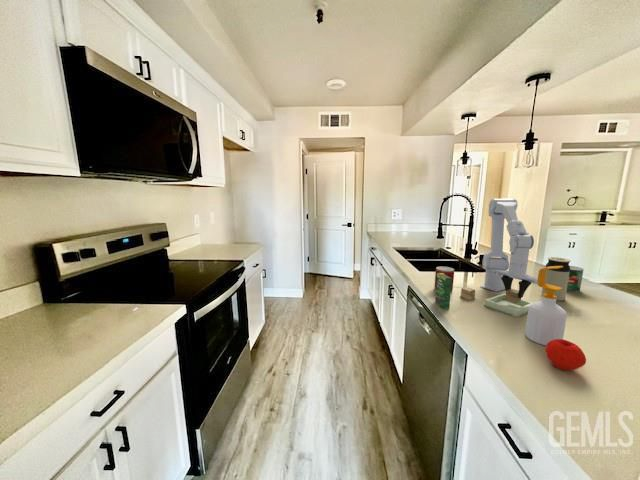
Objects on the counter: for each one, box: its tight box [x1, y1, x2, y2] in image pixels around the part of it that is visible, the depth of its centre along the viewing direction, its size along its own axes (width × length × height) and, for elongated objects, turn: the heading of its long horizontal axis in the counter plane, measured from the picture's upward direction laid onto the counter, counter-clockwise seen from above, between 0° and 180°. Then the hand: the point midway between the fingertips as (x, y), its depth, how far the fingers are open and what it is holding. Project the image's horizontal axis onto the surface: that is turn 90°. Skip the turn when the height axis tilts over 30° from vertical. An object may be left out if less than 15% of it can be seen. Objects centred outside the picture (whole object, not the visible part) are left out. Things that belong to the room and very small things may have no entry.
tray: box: [483, 293, 533, 318], centre depth 107 cm, size 14×12×3 cm
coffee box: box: [434, 273, 452, 310], centre depth 109 cm, size 8×3×13 cm, turn 0°
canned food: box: [434, 265, 455, 293], centre depth 126 cm, size 8×8×11 cm
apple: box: [544, 338, 587, 372], centre depth 70 cm, size 8×8×7 cm
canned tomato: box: [566, 265, 584, 293], centre depth 127 cm, size 8×8×11 cm
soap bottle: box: [524, 266, 568, 346], centre depth 82 cm, size 9×9×25 cm
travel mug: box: [541, 256, 572, 302], centre depth 116 cm, size 8×8×18 cm
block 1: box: [460, 286, 476, 300], centre depth 118 cm, size 4×4×4 cm
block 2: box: [505, 288, 522, 303], centre depth 108 cm, size 4×4×4 cm
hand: (514, 295), depth 108 cm, fingers closed on block 2, 4 cm apart
